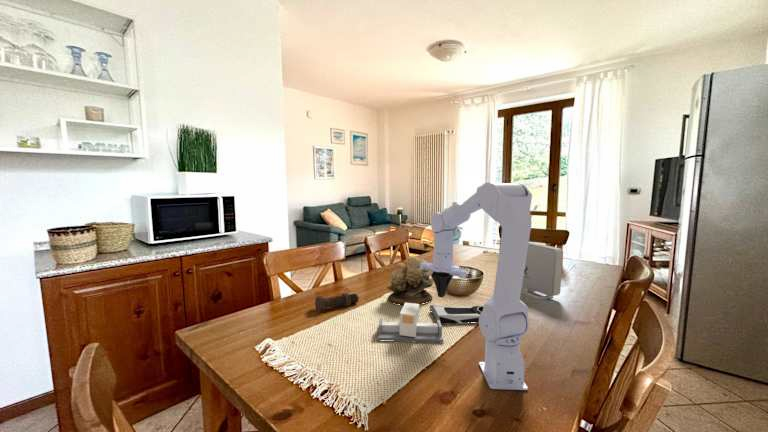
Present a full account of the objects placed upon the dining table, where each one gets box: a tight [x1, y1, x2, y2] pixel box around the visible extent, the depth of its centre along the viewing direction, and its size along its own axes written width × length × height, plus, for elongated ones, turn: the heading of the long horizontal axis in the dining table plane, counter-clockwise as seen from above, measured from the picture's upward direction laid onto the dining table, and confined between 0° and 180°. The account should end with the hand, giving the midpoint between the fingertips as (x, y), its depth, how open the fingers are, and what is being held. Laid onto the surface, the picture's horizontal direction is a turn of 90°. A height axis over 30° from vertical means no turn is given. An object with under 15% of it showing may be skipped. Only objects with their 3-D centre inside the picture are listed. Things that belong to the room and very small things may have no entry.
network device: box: [521, 241, 564, 300], centre depth 127 cm, size 26×9×20 cm, turn 25°
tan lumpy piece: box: [387, 255, 435, 306], centre depth 116 cm, size 18×12×17 cm, turn 106°
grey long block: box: [377, 317, 444, 343], centre depth 90 cm, size 9×18×4 cm, turn 88°
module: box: [399, 303, 421, 337], centre depth 89 cm, size 8×4×6 cm, turn 166°
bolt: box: [314, 292, 360, 313], centre depth 109 cm, size 6×5×15 cm
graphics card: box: [429, 304, 484, 323], centre depth 101 cm, size 10×3×25 cm
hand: (441, 296), depth 95 cm, fingers closed
